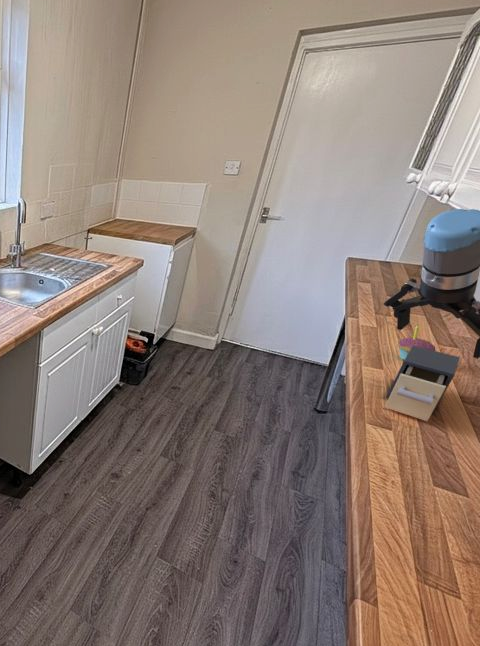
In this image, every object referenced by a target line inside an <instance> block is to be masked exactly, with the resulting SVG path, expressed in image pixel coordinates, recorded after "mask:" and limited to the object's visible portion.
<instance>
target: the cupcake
mask: <svg viewBox="0 0 480 646" xmlns="http://www.w3.org/2000/svg"><path fill="white" fill-rule="evenodd" d="M419 328H420V326H419V324H418V323H416V326H415V329H414V332H413V336H412V337H406V338H405V337H404V338H402V339H399V340H398V341H397V343H396V346H397V347H398V348H399V358H400V359H402V360H403V361H404V360H405V358H406V356H407V355H408V353H409V351H410V349H411V348H412V346H417V347H421V348H425V349H429V350H433V351H437V350H436V346H435V345H434V344H433V343H432V342H430V341H429V340H428V341H427V340H426V339H422V338H417V336H418V333H419Z"/></svg>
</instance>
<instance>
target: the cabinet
mask: <svg viewBox="0 0 480 646" xmlns="http://www.w3.org/2000/svg"><path fill="white" fill-rule="evenodd" d="M460 358H461V357H460V356H457V355H452V354H449V353H445V352H441V351H437V350H436V351H433V350H429V349H425V348H421V347H417V346H412V348H411V349H410V351H409V353H408V355H407V356H406V358H405V360H403V362H402V364H401V366H400V368H399V369H398V372H397V374H396V377H395V378H394V381H393V383H392V385H391V386H390V389H389V391H388V393H387V395H386V399H387V400H388V399H389V397H390V395H391V393H392V391H393V389H394V386H395V384H396V382H397V380H398V378H399V376H400V374H401V373H402V374H405V373H406V371H407V369H408V367H409V366H414V367H418V368H421V369H425V370H429V371H432V372H436V373H440V374H443V375H445V378H444V381H443V383H442V385H444V386H446V388H445V390H444V392H443V394H442V396H441V398H440V399H439V401H438V403H437V405H436V407H435V408H434V410H433V412H432V414H435V411H436V410H437V408H438V406H439V404H440V402H441V400H442V398H443V397H444V395H445V393H446V391H447V389H448V388H449V386H450V384H451V382H452V380H453V378H454V377H455V375H456V372H457V369H458V365H459V363H460V360H461V359H460Z"/></svg>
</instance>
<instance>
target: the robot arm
mask: <svg viewBox="0 0 480 646" xmlns="http://www.w3.org/2000/svg"><path fill="white" fill-rule="evenodd" d="M422 255H423V256H422V265H421V276H420V283H418V281H417V280H416V279H415V278H410V279H408V280H407V281H406V282H405V283H404V284H402V286H401V288H400V290H399V291H397V292H396V293H394V294H393V295H392V296H391V297H389V298H388V299H387V300H385V301H384V302H383V305H384V306H385V307H391V308H392V310H393V317H394V318H396V319H397V321H396V322H397V323H396V330H397V331H402V330H403V329H404V328H406V327H407V326H408V325H409V324H410V321H411V309H412V308H416V307H425V306H428V305H429V306H431V308H433V309H438V310H442V311H444V312H447V313H451V314H452V316H454V317H455V318H456V319H457V320H458V319H460V320H462V322H464V323H465V325H467V327H468V328H470V329H471V331H473V332H474V333H475V334H476V335H477V337H479V338H477V339H476V341H475V347H474V350H473V355H472V358H474V359H477V360H478V359H480V301H478V300H477V299H476V298H475V293H476V290H477V286H478V282H479V281H478V280H479V277H480V209H475V208H471V209H463V208H457V209H455V208H454V209H451V210H447V211H444V212H442V213H440V214H437V215H436V216H434V217H433V218H432V219H431V220H430V221H429V223H428V224H427V226H426V229H425V234H424V238H423V254H422ZM414 292H417V293H418V294H419V295H417V296H413V297H410V298H407V299H405V298H403V297H405V296H406V295H407V294H411V293H414ZM402 298H403V299H402Z"/></svg>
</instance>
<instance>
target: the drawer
mask: <svg viewBox="0 0 480 646" xmlns="http://www.w3.org/2000/svg"><path fill="white" fill-rule="evenodd" d="M444 378H445V375H443V374H440V373H436V372H432V371H429V370H425V369H421V368H418V367H414V366H409V367H408V369H407V371H406V373H405V374H402V373H401V374H400V376H399V378H398V380H397V382H396V384H395V386H394V389H393V391H392V393H391V395H390V397H389V399H388V398H387V401H386V403H385V405H384V408H386V409H389V410H392V411H396V412H398V413H402V414H404V415H407V416H409V417H413V418H416V419H419V420H421V421H425V422H428V421H429V419H430V418H431V416H432V414H433V413H432V412H433V410H434V408H435V407H436V405H437V403H438V401H439V399H440V398H441V396H442V394H443V392H444V390H445V388H446V386H444V385H442V383H443V381H444Z"/></svg>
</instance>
